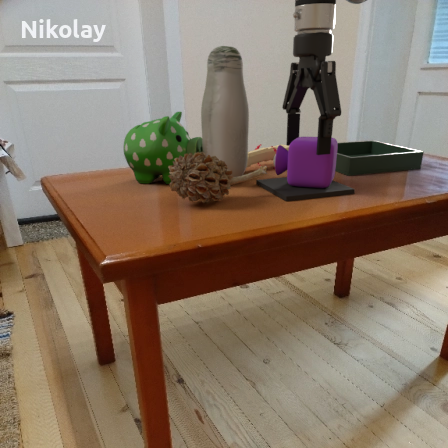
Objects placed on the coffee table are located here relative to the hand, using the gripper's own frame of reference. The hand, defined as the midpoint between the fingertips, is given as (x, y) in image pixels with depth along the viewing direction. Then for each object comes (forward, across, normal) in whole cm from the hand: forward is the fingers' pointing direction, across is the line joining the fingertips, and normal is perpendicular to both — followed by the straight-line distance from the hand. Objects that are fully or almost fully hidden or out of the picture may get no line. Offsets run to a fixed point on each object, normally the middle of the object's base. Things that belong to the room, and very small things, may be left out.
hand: (306, 149), depth 93 cm
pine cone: (+8, +2, -20) cm, 22 cm away
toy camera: (+8, 0, 0) cm, 8 cm away
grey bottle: (+8, -12, -14) cm, 20 cm away
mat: (+8, 0, 0) cm, 8 cm away
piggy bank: (+8, -20, -27) cm, 35 cm away
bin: (+9, -18, +27) cm, 33 cm away
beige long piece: (+8, -24, 0) cm, 26 cm away
